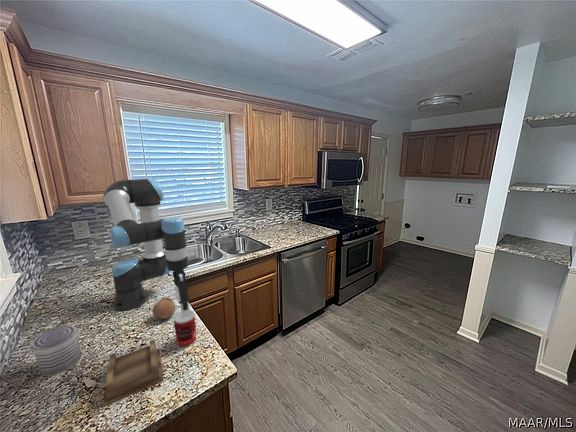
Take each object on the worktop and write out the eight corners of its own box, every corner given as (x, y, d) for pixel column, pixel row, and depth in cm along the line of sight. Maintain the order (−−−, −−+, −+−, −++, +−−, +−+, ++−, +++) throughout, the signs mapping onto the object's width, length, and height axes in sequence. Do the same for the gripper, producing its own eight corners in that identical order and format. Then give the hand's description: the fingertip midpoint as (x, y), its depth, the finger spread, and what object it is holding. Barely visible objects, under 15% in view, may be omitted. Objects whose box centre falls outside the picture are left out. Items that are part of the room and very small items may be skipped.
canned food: (190, 330, 101) (188, 307, 99) (200, 338, 96) (198, 315, 94) (173, 340, 96) (169, 316, 93) (182, 349, 91) (179, 325, 88)
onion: (170, 317, 115) (173, 296, 118) (175, 321, 108) (179, 298, 111) (148, 318, 109) (153, 296, 112) (153, 322, 102) (158, 298, 105)
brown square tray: (108, 368, 82) (105, 354, 81) (159, 349, 91) (157, 336, 89) (103, 406, 69) (99, 390, 68) (163, 380, 77) (161, 365, 76)
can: (87, 347, 92) (81, 321, 90) (74, 370, 82) (67, 340, 80) (50, 356, 88) (42, 329, 86) (31, 381, 78) (22, 350, 76)
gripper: (163, 250, 97) (169, 296, 101) (169, 271, 76) (177, 328, 80) (182, 247, 101) (187, 291, 105) (193, 266, 80) (199, 320, 84)
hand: (183, 307), depth 93 cm, fingers open, 13 cm apart
